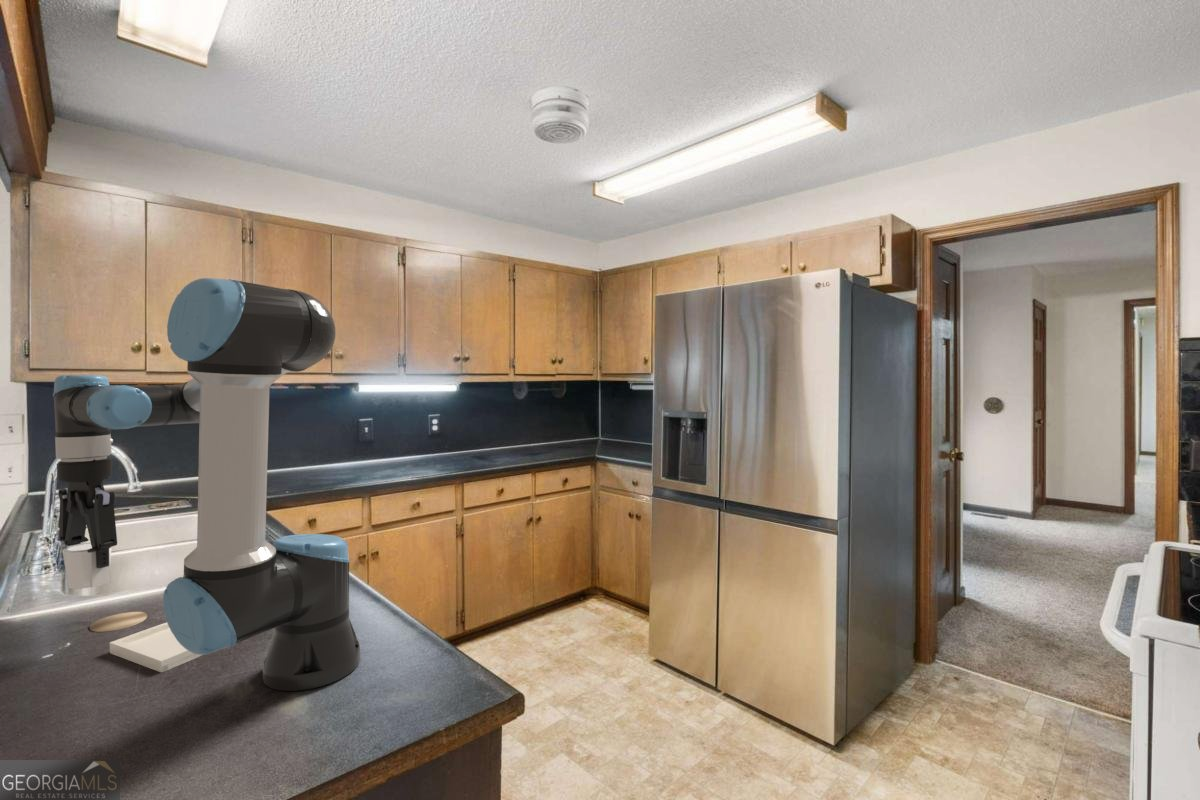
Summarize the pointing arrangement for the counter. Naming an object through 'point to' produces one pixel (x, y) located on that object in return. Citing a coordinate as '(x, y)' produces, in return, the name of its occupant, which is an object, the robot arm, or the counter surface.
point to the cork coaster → (118, 621)
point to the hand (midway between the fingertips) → (89, 581)
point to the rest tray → (153, 649)
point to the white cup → (78, 565)
